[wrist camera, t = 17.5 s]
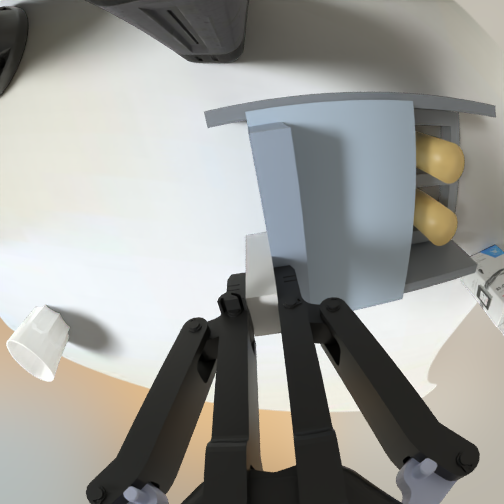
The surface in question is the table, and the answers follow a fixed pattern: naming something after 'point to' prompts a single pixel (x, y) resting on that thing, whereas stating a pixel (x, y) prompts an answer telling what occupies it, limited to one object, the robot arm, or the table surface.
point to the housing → (425, 113)
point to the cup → (40, 342)
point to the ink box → (488, 284)
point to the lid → (339, 195)
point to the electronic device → (188, 25)
